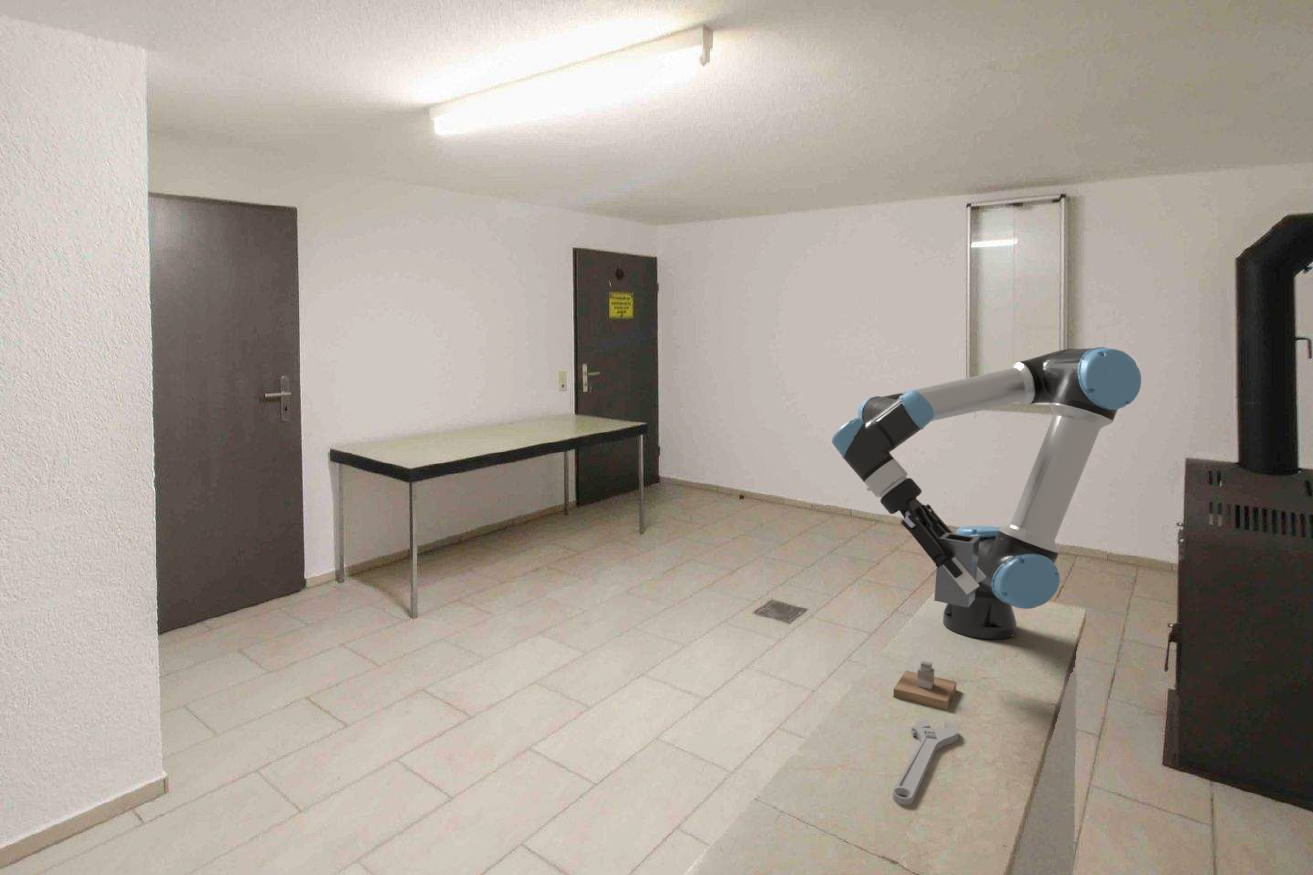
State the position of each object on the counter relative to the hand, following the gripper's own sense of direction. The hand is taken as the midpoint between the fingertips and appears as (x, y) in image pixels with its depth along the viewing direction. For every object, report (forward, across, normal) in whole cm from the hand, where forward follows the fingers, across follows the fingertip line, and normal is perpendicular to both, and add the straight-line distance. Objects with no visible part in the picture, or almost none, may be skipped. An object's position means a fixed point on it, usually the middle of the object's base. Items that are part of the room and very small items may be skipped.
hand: (976, 585), depth 134 cm
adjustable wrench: (+13, +34, -14) cm, 39 cm away
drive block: (+10, +11, -17) cm, 22 cm away
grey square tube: (0, 0, -5) cm, 5 cm away
